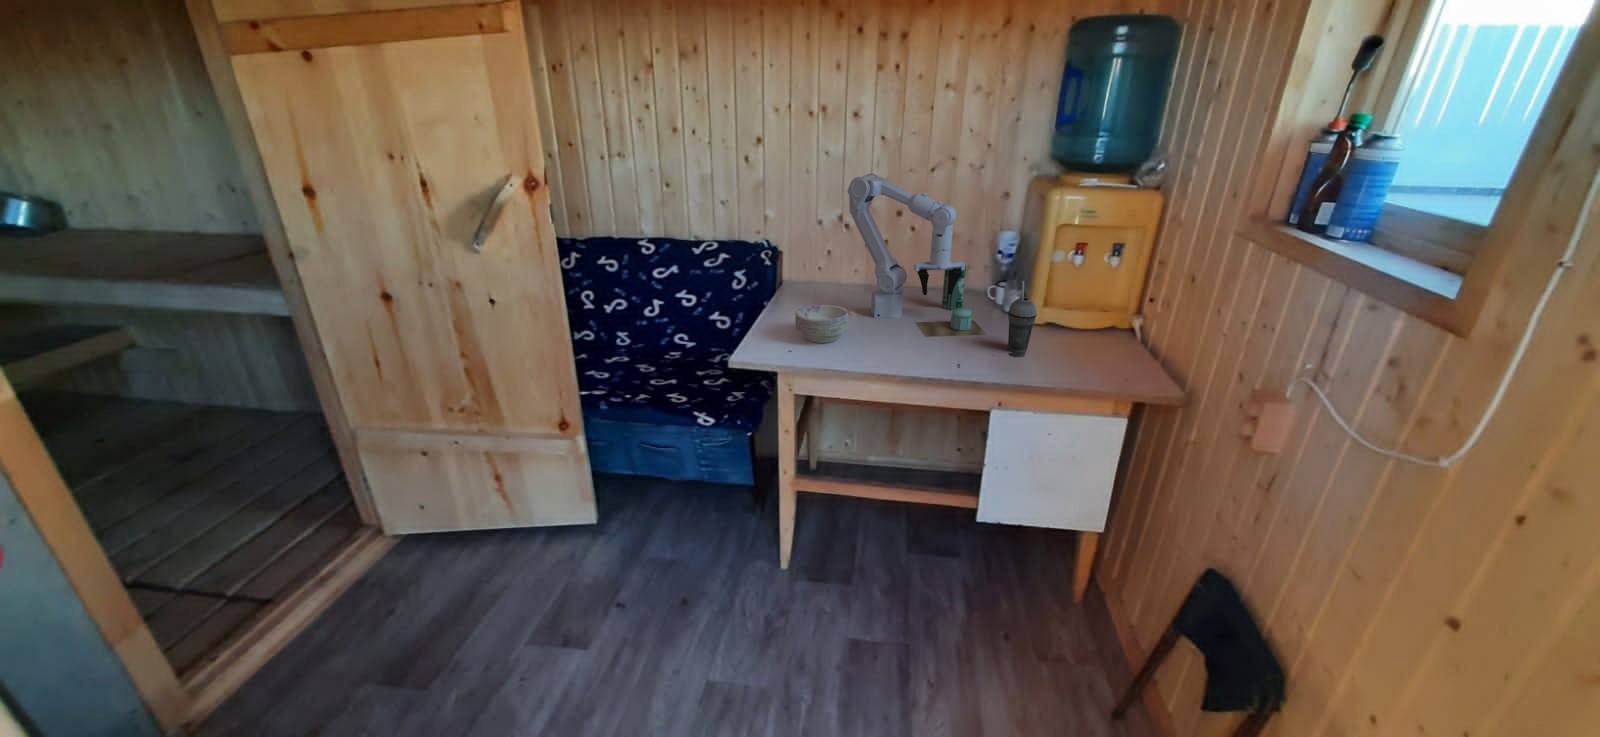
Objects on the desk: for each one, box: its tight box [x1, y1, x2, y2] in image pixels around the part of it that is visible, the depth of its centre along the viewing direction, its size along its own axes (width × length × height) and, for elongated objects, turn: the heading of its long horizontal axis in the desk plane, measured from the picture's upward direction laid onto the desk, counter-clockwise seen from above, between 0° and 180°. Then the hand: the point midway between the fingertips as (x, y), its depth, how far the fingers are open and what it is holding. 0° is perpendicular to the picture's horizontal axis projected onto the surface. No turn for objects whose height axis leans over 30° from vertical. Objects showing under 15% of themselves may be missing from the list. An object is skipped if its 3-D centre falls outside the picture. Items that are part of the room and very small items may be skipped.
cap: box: [950, 307, 973, 330], centre depth 191 cm, size 5×5×5 cm
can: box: [941, 264, 967, 311], centre depth 207 cm, size 6×6×15 cm
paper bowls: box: [794, 304, 850, 344], centre depth 187 cm, size 15×15×8 cm
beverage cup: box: [1007, 280, 1038, 358], centre depth 173 cm, size 7×7×20 cm
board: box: [914, 319, 988, 338], centre depth 192 cm, size 18×12×1 cm, turn 95°
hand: (937, 293), depth 193 cm, fingers open, 7 cm apart
